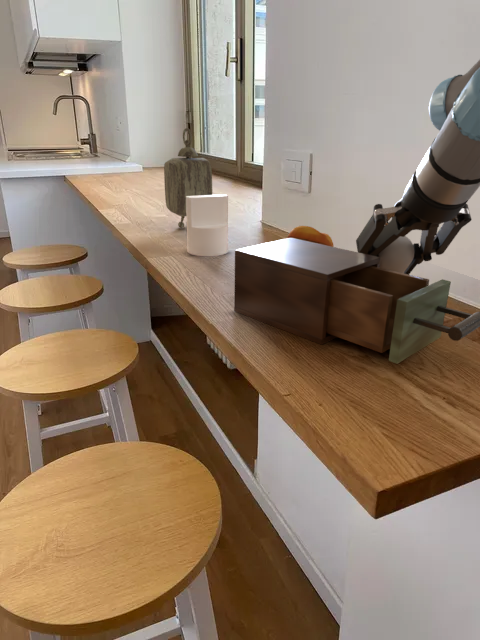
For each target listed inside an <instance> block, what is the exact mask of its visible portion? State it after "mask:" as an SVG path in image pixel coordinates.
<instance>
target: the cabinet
mask: <svg viewBox="0 0 480 640" xmlns="http://www.w3.org/2000/svg"><path fill="white" fill-rule="evenodd" d="M380 261H381V257H377V256H372V255H368V254H363V253H358V251H355V250H348V249H345V248H340V247H337V246H336V247H335V246H334V247H331V246H327V245H322V244H318V243H313V242H309V241H304V240H299V239H295V238H287V237H286V238H282V239H278V240H274V241H269V242H263V243H260V244H255V245H250V246H246V247H242V248H237V249H235V250H234V295H233V300H234V302H233V303H234V305H233V311H234V313H235V312H236V313H238V314H241V315H243V316H246V317H248V318H251V319H254V320H256V321H259V322H261V323H264V324H267V325H268V326H269V325H270V326H272V327H274V328H277V329H280V330H283V331H284V332H288V333H290V334H292V335H295V336H298V337H300V338H303V339H305V340H307V341H310V342H313V343H315V344H318V345H321V346H322V345H324V344H326V343H328V342H330V341H333V340H335V339H337V338H338V337H336V336H333V335H331V334H328V333H326V325H327V314H328V303H329V291H330V279H333V278H336V277H339V276H342V275H345V274H348V273H351V272H354V271H357V270H360V269H363V268H366V267H369V266H374V267H379V268H380Z"/></svg>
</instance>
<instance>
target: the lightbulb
mask: <svg viewBox="0 0 480 640" xmlns="http://www.w3.org/2000/svg"><path fill="white" fill-rule="evenodd" d="M413 244H414V243H413V242H412V241H411V239H410V238H409V237H408V236H407V235H405V236H404V237H401V236H400V237H399V238H397V239H396V240H395V241H394V242H393V243H391V244H390V245H389V246H388V247H386V248H385V249H384V250H383V251H381V252H380V253H379V257H381V261H380V268H383V269H387V270H391V271H396V272H400V273H404V272H405V270H406V269H407V268H408V266H409V265H410V263H411V262H412V260H413V258H414V253H415V252H414V246H413Z"/></svg>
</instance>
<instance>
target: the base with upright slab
mask: <svg viewBox="0 0 480 640" xmlns="http://www.w3.org/2000/svg"><path fill="white" fill-rule="evenodd" d="M186 214H187V216H186V245H187V246H186V248H187V249H186V251H187V253H188V254H190V255H192V256H198V257H217V256H223V255H226V254H227V253H228V252H229V195H227V194H223V193H221V194H219V193H218V194H212V195H196V196H186Z"/></svg>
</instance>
